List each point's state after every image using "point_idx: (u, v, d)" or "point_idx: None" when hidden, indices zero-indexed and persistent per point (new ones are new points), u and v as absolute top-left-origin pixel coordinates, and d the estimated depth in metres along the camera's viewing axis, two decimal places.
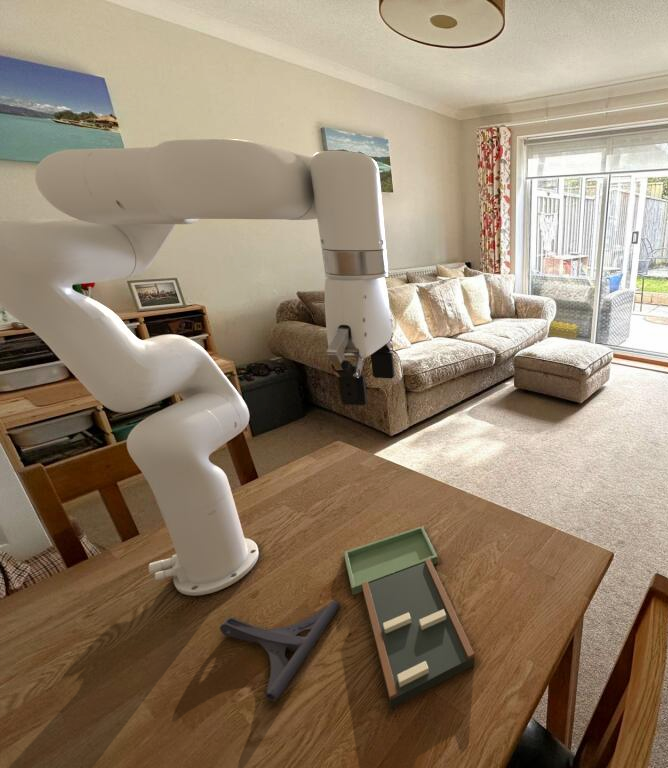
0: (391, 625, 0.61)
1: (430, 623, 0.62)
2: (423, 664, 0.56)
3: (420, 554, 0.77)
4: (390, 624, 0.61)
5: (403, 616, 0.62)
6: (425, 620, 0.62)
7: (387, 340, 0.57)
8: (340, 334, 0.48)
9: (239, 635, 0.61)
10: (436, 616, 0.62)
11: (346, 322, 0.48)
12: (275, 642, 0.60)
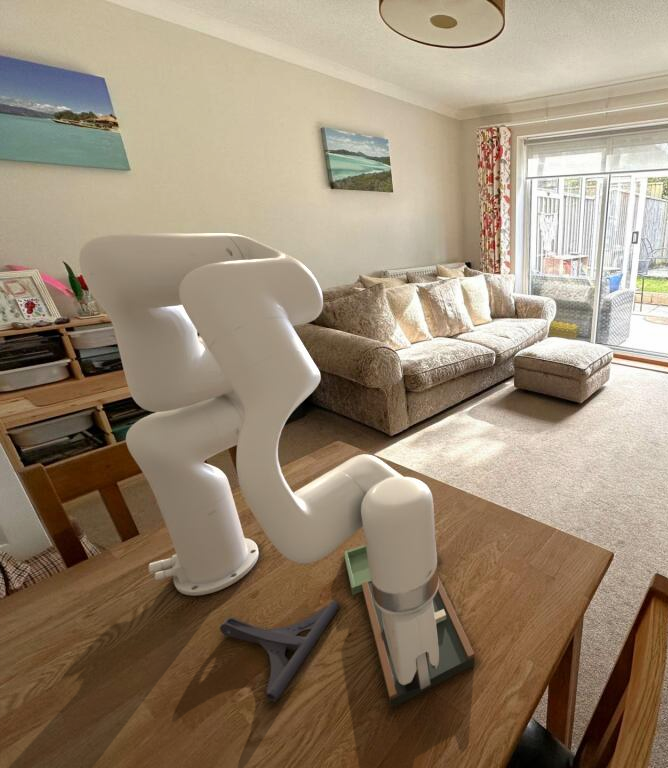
0: None
1: None
2: None
3: None
4: None
5: None
6: None
7: None
8: (422, 666, 0.47)
9: (239, 635, 0.61)
10: (436, 616, 0.62)
11: (424, 650, 0.46)
12: (275, 642, 0.60)
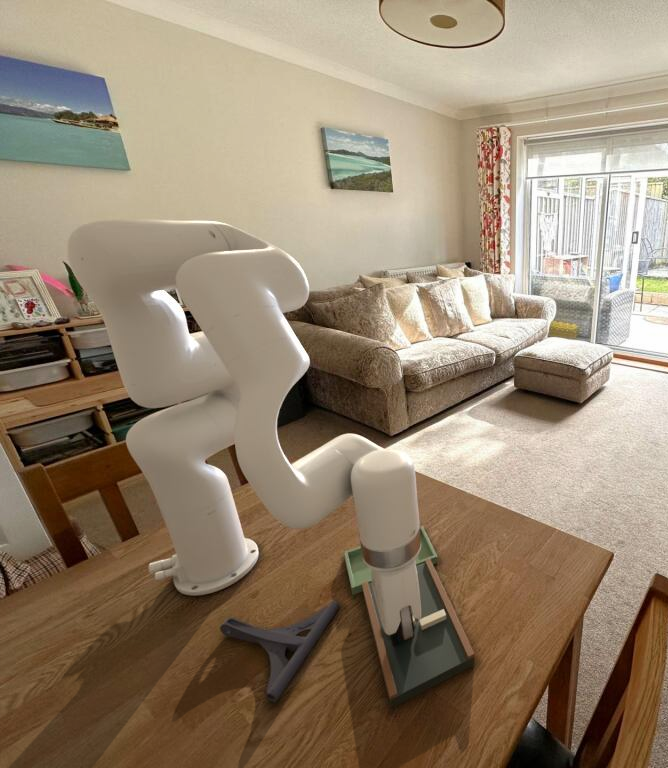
0: None
1: (430, 623, 0.62)
2: None
3: (420, 554, 0.77)
4: None
5: None
6: (425, 620, 0.62)
7: None
8: (406, 619, 0.52)
9: (239, 635, 0.61)
10: (436, 616, 0.62)
11: (407, 603, 0.51)
12: (275, 642, 0.60)
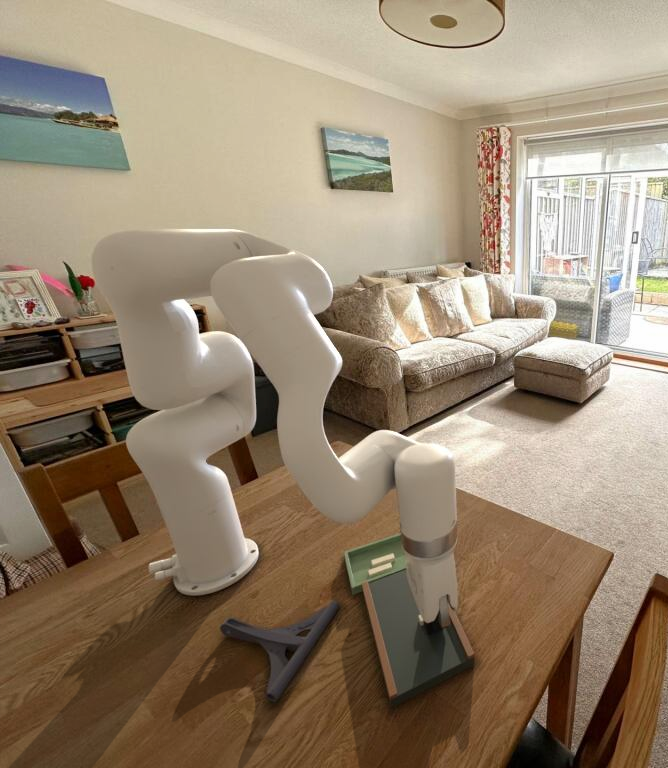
0: None
1: None
2: None
3: None
4: None
5: None
6: None
7: None
8: (443, 607, 0.54)
9: (239, 635, 0.61)
10: None
11: (446, 592, 0.53)
12: (275, 642, 0.60)
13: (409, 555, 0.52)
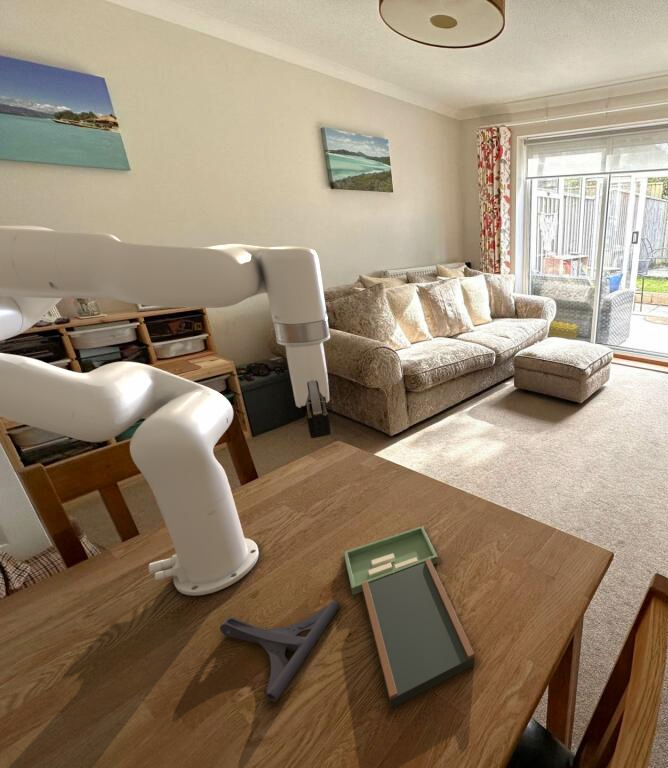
0: None
1: (402, 563, 0.73)
2: None
3: (420, 554, 0.77)
4: None
5: None
6: None
7: None
8: (314, 395, 0.62)
9: (239, 635, 0.61)
10: None
11: (314, 378, 0.61)
12: (275, 642, 0.60)
13: (280, 342, 0.60)
